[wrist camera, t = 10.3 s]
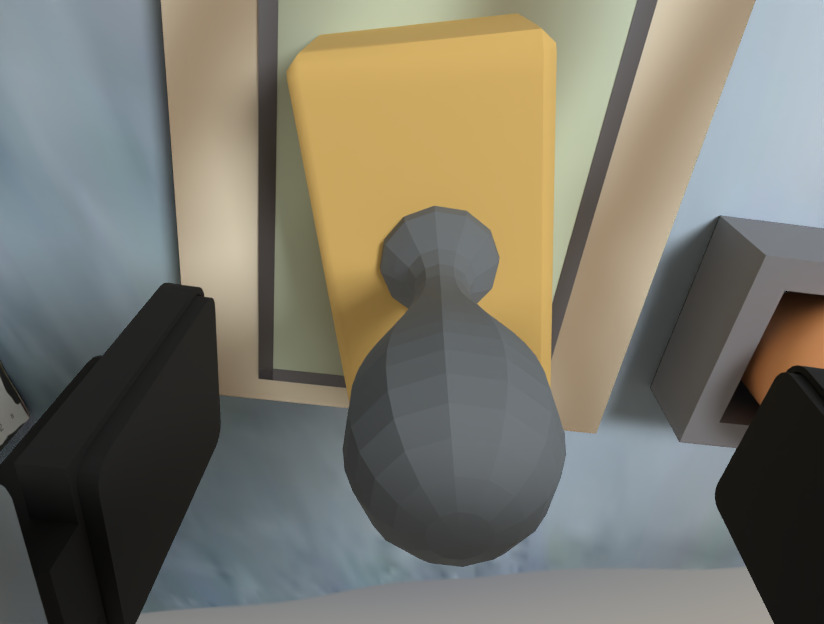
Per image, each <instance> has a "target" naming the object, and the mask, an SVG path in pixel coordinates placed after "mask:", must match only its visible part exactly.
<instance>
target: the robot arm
mask: <svg viewBox="0 0 824 624" xmlns="http://www.w3.org/2000/svg"><path fill="white" fill-rule="evenodd" d="M220 423H221V421H220V400H219V378H218V356H217V334H216V312H215V302H214V299H213V298H211V297H204V292H203V289H202V288H201V287H195V286H187V285H180V284H172V283H163V284H162V285H161V286H160V287H159V288H158V290H157V291H156V292H155V293H154V294H153V296H152V297H151V298H150V299H149V300H148V302H147V303H146V304H145V305H144V307H143V308H142V309H141V310H140V311H139V313H138V314H137V315H136V316H135V317H134V319H133V320H132V321H131V322H130V323H129V325H128V326H127V327H126V328H125V329H124V331H123V332H122V333H121V334H120V335H119V337H118V338H117V339H116V340H115V341H114V343H113V344H112V345H111V346H110V348H109V349H108V350H107V351H106V352H105V354H104V355H103V356H97V357H94V358H92V359H91V360H90V361H89V362H88V363H87V364H86V365H85V366H84V367H83V368H82V370H81V371H80V372H79V373H78V374H77V376H76V377H75V378H74V379H73V380H72V381H71V383H70V384H69V385H68V386H67V387H66V388H65V390H64V391H63V392H62V393H61V394H60V395H59V397H58V398H57V399H56V400H55V401H54V403H53V404H52V405H51V406H50V407H49V408H48V410H47V411H46V412H45V413H44V414H43V415H42V417H41V418H40V419H39V420H38V421H37V422H36V424H35V425H34V426H33V427H32V428H31V430H30V431H29V432H28V433H27V434H26V435H25V437H24V438H23V439H22V440H21V441H20V442H19V444H18V445H17V446H16V447H15V448H14V449H13V451H12V452H11V453H10V454H9V455H8V457H7V458H6V459H5V460H4V461H3V462H2V464H1V465H0V624H135V623H136V621H137V619H138V617H139V615H140V613H141V611H142V609H143V606H144V604H145V602H146V600H147V597H148V595H149V593H150V591H151V589H152V586H153V584H154V582H155V580H156V578H157V575H158V573H159V571H160V569H161V567H162V564H163V562H164V560H165V558H166V555H167V553H168V551H169V549H170V547H171V544H172V542H173V540H174V538H175V536H176V533H177V531H178V529H179V527H180V525H181V522H182V520H183V518H184V516H185V513H186V511H187V509H188V507H189V505H190V502H191V500H192V498H193V496H194V494H195V491H196V489H197V487H198V485H199V483H200V480H201V478H202V476H203V474H204V471H205V469H206V467H207V465H208V463H209V460H210V458H211V456H212V454H213V452H214V449H215V447H216V445H217V442H218V438H219V434H220ZM715 501H716V505H717V508H718V510H719V512H720V514H721V516H722V518H723V520H724V522H725V524H726V526H727V528H728V531H729V533H730V535H731V537H732V539H733V541H734V543H735V545H736V547H737V549H738V551H739V553H740V555H741V557H742V559H743V561H744V563H745V565H746V567H747V569H748V571H749V573H750V575H751V577H752V579H753V581H754V583H755V585H756V587H757V590H758V592H759V593H760V596H761V597H762V600H763V602H764V604H765V606H766V608H767V610H768V612H769V614H770V616H771V618H772V620H773V622H774V624H824V369H822V368H815V367H807V366H800V365H796V366H792V367H791V368H789V369H788V370H787V371H786V372H783V373H780V374H779V375H777V376H776V378H775V379H774V381H773V383H772V385H771V386H770V388H769V390H768V392H767V394H766V396H765V397H764V399H763V401H762V403H761V405H760V407H759V408H758V410H757V412H756V414H755V416H754V418H753V420H752V421H751V423H750V425H749V427H748V429H747V431H746V432H745V434H744V436H743V438H742V440H741V442H740V443H739V445H738V447H737V449H736V451H735V453H734V455H733V456H732V458H731V460H730V462H729V464H728V466H727V467H726V469H725V471H724V473H723V475H722V477H721V478H720V480H719V482H718V484H717V487H716V491H715Z"/></svg>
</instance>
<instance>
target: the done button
mask: <svg viewBox="0 0 824 624" xmlns="http://www.w3.org/2000/svg"><path fill="white" fill-rule="evenodd" d="M796 365H800V366H807V367H815V368H822V369H824V295H818V294H809V293H801V292H792V291H789V292H786V293H784V294H783V295H782V297H781V299H780V301H779V303H778V305H777V307H776V309H775V311H774V313H773V315H772V317H771V319H770V321H769V323H768V325H767V327H766V329H765V331H764V333H763V335H762V337H761V339H760V342H759V344H758V346H757V348H756V350H755V352H754V354H753V356H752V358H751V360H750V362H749V364H748V366H747V368H746V370H745V372H744V374H743V376H742V378H741V381H742V382H743V384H744V385H745V386H746V388H747V389H748V390H749V391H750V393H751V394H752V395H753V397H754V398H755V399H756V401H757V402H758V403H759V405H761V403H762V401H763V399H764V397H765V396H766V394H767V392H768V390H769V388H770V386H771V385H772V383H773V381H774V379H775V378H776V376H777V375H779V374H780V373H783V372H786V371H787V370H788V369H789V368H791V367H792V366H796Z"/></svg>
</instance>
